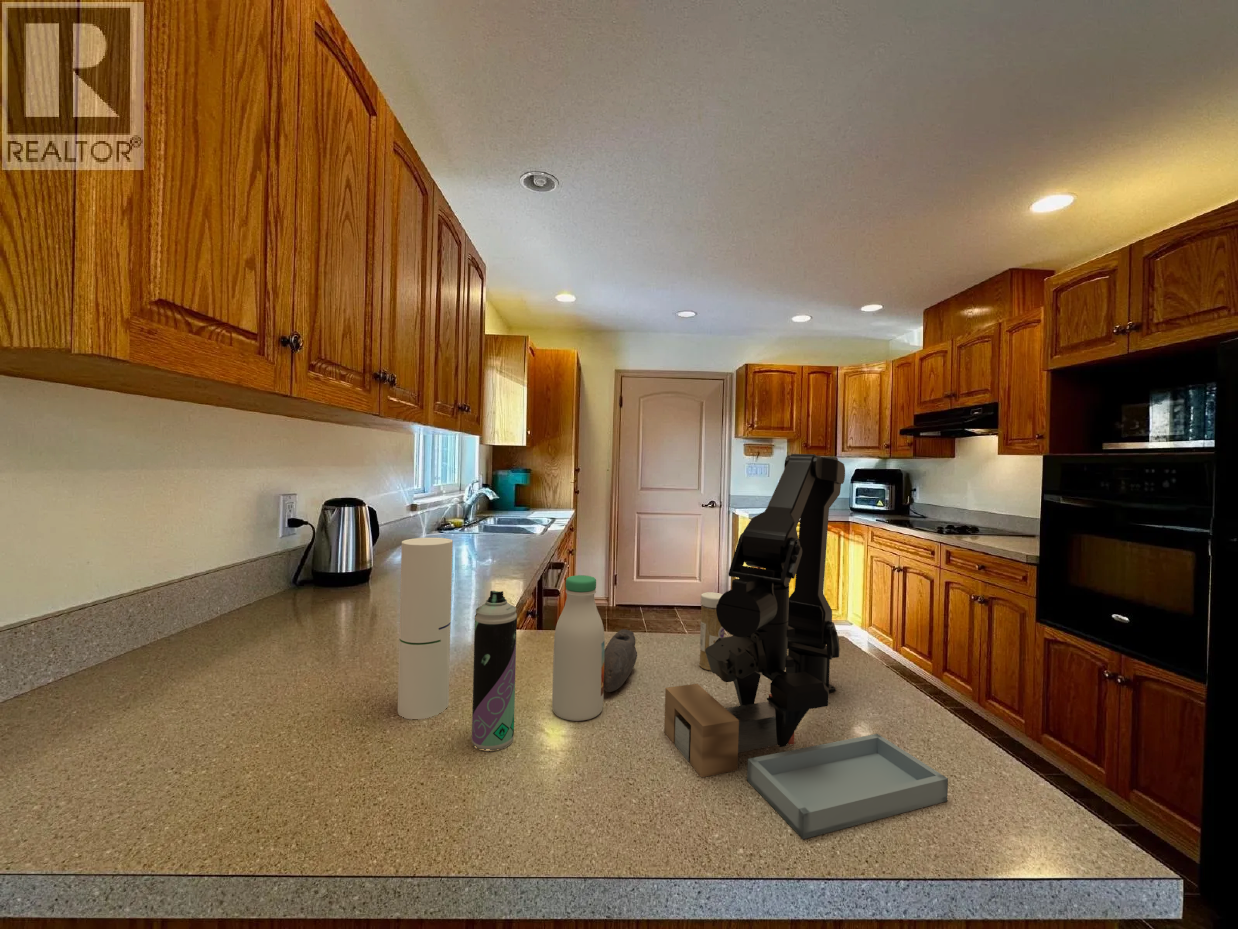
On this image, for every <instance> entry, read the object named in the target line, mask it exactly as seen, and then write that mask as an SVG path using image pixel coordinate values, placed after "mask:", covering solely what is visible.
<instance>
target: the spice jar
mask: <svg viewBox="0 0 1238 929" xmlns="http://www.w3.org/2000/svg"><path fill="white" fill-rule="evenodd" d="M723 594H724V593H718V592H712V591H711V592H710V591H708V592H703V593H701V594H700V605H701V606H700V607H701V610H700V611H701V612H700V616H701V617H700V627H699V628H700V629H699V630H700V632H699V633H700V634H699V635H700V636H699V649H700V650H699V651H700V652H699V656H700V657H699V662H698V663H699V667H700V668H702V669H704V670H707V671H710V672H711V669H710V666H709V662H708V659H707V656H706V652H705V649H706V648H707V647H709V646H711V645H713V644H714V643H715V642H716V641H717V640H718V638H723V637H725V629H724V628H723V627H722V626H721V624H720V622H719V621H718V618H717V613H716V605H717V604H718V601H719V599H720V597H721V596H722V595H723Z"/></svg>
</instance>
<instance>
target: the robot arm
mask: <svg viewBox="0 0 1238 929" xmlns="http://www.w3.org/2000/svg"><path fill="white" fill-rule="evenodd" d="M845 479H846V467H845V464H844V462H842V461H841V460H839V459H838V457H837V456H820V455H816V454H815V453H813V454H812V453H792V454H790V455H787V456H786V457H785V460H784V469H783V471H782V474H781V476H780V478H779V480H778V482H777V485H776V486H775V489H774V491H773V493H772V496H771V498H770V501H769V502H768V505H767V507H766V508H765V510H764V511H763V512H761V513H759V514H757V515H755V516H754V517H752V518H751V519H750V521H749V522H748V523H747V525H746V527H745V528H744V530H743V532H741V534H740V535H739V538H738V541H737V544H736V548H735V550H734V553H733V556H732V557H733V558H732V560H731V563H730V567H729V569H728V577H732V578H734V579H733V580H732V581H731V589H729V590H727V591H725V592H724V593H722V594H723V595H722V596H721V597H720V599H719V601H718V604H717V605H716V613H717V618H718V621H719V622H720V624H721V626H722V627H723V628H724V631H725V632H726V633H728V634H729V635H730V636H724V637H723V638H718V640H717V641H716V642H715V643H714V644H713V645H711V646H709V647H707V648H706V649H705V652H706V656H707V659H708V662H709V666H710V669H711V671H710V672H711V673H712V674H715V675H716V676H717V677H718V678H719V679H720V680H721V681H722V682H724V683H731V682H733V685H734V688H735V691H736V692H735V693H736V696H737V700H738V703H739V706H742V705H748V704H755V701H756V697H757V692H758V688H759V684H760V679H761V676H763V677H765V678H767V679H768V680H770V681H771V682H770V684H769V685H770V689H769V691H770V694H771V695H772V697H771V698H769V697H766V700H767V702H768V701H769V702H770V703H771V704H772V706H773V707H774V708H775V715H776V736H777V744H778V745H777V746H778V747H779V748H783V747H787V745H789V744H788V742H789V740H790V738H791V737H792V735H793V733H794V734H795V733H796V732H795V731H796V730H797V729H798V726H799V724H800V723H801V721H802V719H803V718H804V717H805V716H806V714H807V713H808V712H809V710H812V709H819V708H823V707H824V708H825V707H828V706H829V693H832V692H836V690H837V688H836V687H835V686H834V685H832V684H830V666H831V664H830V662H831V660H833V659H835V658H836V659H838V658H840V650H841V648H840V639H839V635H838V632H837V629H836V626H835V622H833V609H832V607H831V606H830V604H829V602H828V600H827V598H826V596H825V594H824V588H825V574H826V572H825V571H826V559H827V558H826V557H827V545H828V544H827V543H828V542H827V541H828V530H829V527H828V526H829V515H830V509H831V507H832V505H833V504H834V503H835V501H836V500H837V499H838V497H839V496H840V494H841V488H842V484H844V483H845ZM798 524H799V526H798ZM798 527H799V528H798ZM797 528H798V531H797ZM744 564H745V565H744ZM793 579H795V581H794V590H793V592H792V593H791V594H790V583H791V580H793Z"/></svg>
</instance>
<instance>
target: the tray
mask: <svg viewBox="0 0 1238 929" xmlns="http://www.w3.org/2000/svg"><path fill="white" fill-rule="evenodd" d="M746 774H747V776H746V781H747V782H748V784H750V785H751V786H752V787H753V788H754V789H755V790H756V792H757V793H759V795H760V796H761V797H762V798H763V799H764V800H765V801H766V802H767V803H768V804H769V806H771V808H773V809H774V811H775V812H776V813H777V814H778V815H779V816H780V817H781V818H782V819H783V821H785V822H786V823H787V824H788V825H789V826H790V827H791V829H793V831H794V832H795V833H796V834H797V835H798V836H799V837H800V838H801V839H802V840H807V839H810V838H814V837H817V836H822V835H825V834H829V833H832V832H836V831H840V830H843V829H847V828H850V827H855V826H858V825H859V826H860V825H862V824H866V823H869V822H874V821H878V820H881V819H885V818H888V817H893V816H896V815H901V814H904V813H907V812H911V811H916V810H918V809H922V808H926V807H930V806H934V805H938V804H941V803H945V802H946V803H947V802H948V792H949V791H948V789H949V788H948V787H949V778H948V777H947V776H945V775H943V774H942V773H940V772H939V771H937V770H935V769H934V768H933V767H930V766H929V765H928V764H926V763H924V762H923V761H921V760H920V759H918V758H917V757H915V756H913V755H912V754H911V753H909V752H907V751H906V750H904V749H902V748H901V747H899V746H898V745H897V744H894V742H891V741H890V740H888V739H886V738H885V737H883V736H882V735H880V734H879V733H873V734H869V735H865V736H859V737H853V738H847V739H842V740H837V741H833V742H828V743H822V744H816V745H812V746H808V747H806V746H805V747H801V748H796V749H792V750H786V751H781V752H777V753H776V752H775V753H771V754H765V755H760V756H756V757H755V756H754V757H750V758H747V771H746Z"/></svg>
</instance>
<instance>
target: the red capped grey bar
mask: <svg viewBox="0 0 1238 929" xmlns="http://www.w3.org/2000/svg"><path fill="white" fill-rule="evenodd" d="M771 697H772V695H771V693H769V694H768V698H771ZM725 708H726V709H727V710H728V711H729V712H730V713H731V714H732V715H733V716H735V717H736V718H737V719H738V720H739V735H738V754H739V753H744V752H749V751H754V749H755V750H759V749H765V748H769V747H768V746H771V747H775V745H776V746H778V744H777V736H776V715H775V708H774V707H773V706H772V704H771V703H770V702H769V701H768V700H767V701H762V702H757V703H755V702H754V704H748V705H742V706H740V705H738V706H737V705H736V706H730V707H725ZM690 744H691V725H690V724H689V723H688V722H687V721H686V719H685V718H684V717H683V716H682V715H677V716H676V719H675V743H674V746H675V747H676V748H677V750H678V751H679V752H680V753H681V754H682V756H683V758H685V760H686V761H687V763H690ZM790 744H792V745H794V744H795V732H794V733H793V735H792V737H791V738H790V740H789V742H788V744H787V745H788V746H790ZM764 747H765V748H764Z"/></svg>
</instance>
